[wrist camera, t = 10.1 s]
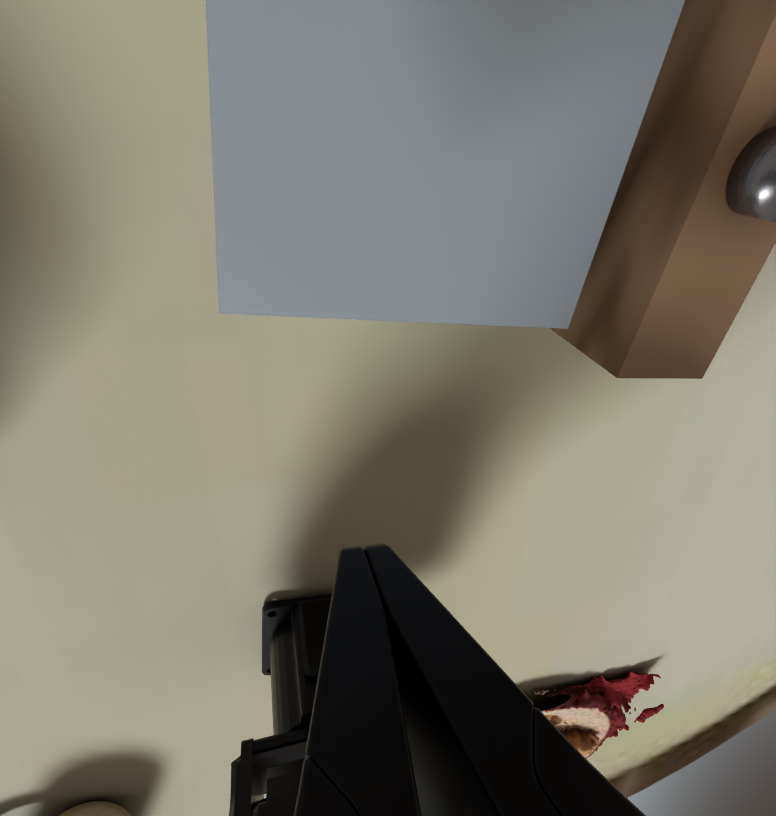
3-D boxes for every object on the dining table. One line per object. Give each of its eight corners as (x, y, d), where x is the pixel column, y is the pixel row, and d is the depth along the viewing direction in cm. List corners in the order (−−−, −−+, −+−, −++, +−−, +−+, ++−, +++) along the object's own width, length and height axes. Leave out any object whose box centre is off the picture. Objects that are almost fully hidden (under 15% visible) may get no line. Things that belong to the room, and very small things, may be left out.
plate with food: (390, 704, 38) (401, 753, 35) (651, 661, 45) (677, 699, 42) (357, 820, 50) (363, 863, 48) (565, 773, 57) (581, 808, 54)
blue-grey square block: (516, 292, 21) (567, 328, 17) (224, 273, 17) (219, 313, 14) (626, -91, 14) (737, -147, 11) (205, -239, 11) (189, -382, 8)
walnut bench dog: (618, 328, 22) (727, 394, 17) (545, 325, 21) (639, 394, 16) (786, -78, 15) (1054, -167, 10) (689, -115, 14) (937, -236, 9)
